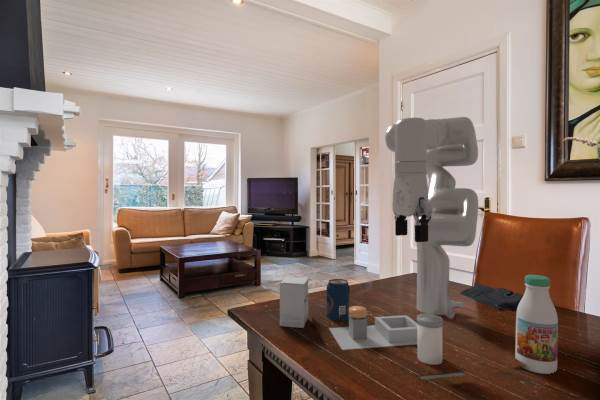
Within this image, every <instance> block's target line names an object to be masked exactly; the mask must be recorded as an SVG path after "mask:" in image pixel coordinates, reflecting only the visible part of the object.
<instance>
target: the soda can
mask: <svg viewBox="0 0 600 400" xmlns="http://www.w3.org/2000/svg"><path fill="white" fill-rule="evenodd" d="M325 295H326V304H325V306H326V309H325V311H326V314H325V315H326V318H327V319H329V320H332V321H336V322H338V321H347V320H349V308H350V307H351V287H350V285H349V281H348V280H346V279H343V278H332V279H329V280H328V282H327V285H326V294H325Z"/></svg>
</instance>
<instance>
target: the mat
mask: <svg viewBox="0 0 600 400" xmlns="http://www.w3.org/2000/svg"><path fill="white" fill-rule="evenodd" d="M463 375H464V376H465V371H453V372H443V373H430V374H420V375H416V377H418V379H419V380H429V379H437V378H438V379H441V378H450V377H452V376H453V377H462V376H463ZM464 376H463V377H464Z"/></svg>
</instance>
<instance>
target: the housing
mask: <svg viewBox="0 0 600 400" xmlns="http://www.w3.org/2000/svg"><path fill="white" fill-rule="evenodd" d="M328 330H329V331H330V333H331V335H332V336H333V338H334V339H335V341H336V343H337V344H338V346H339V347H340V349H341V350H342V351H347V350H357V349H358V350H359V349H370V348H386V347H387V348H388V347H398V346H412V345H417V321H414V319H412V318H411V317H409V315H407V314H406V315H405V314H403V315H391V316H390V315H389V316H387V315H386V316H375V317H374V325H372V324H371V325H368V319H367V318H366V317H364V318H361V319H355V318H354V317H351V316H350V315H349V319H348V326H343V327H329V328H328Z"/></svg>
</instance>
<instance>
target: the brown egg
mask: <svg viewBox="0 0 600 400" xmlns="http://www.w3.org/2000/svg"><path fill="white" fill-rule="evenodd" d="M367 312H368V311H367V308H366V307H364V306H361V305H353V306H350V308H349V315H350V316H351V317H354V318H355V319H361V318H364V317H365V318H366V317H367Z"/></svg>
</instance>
